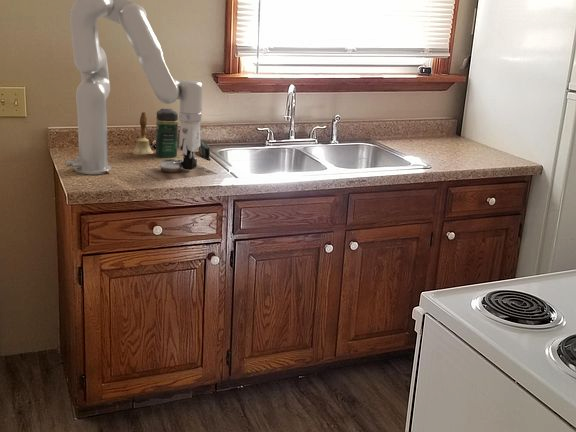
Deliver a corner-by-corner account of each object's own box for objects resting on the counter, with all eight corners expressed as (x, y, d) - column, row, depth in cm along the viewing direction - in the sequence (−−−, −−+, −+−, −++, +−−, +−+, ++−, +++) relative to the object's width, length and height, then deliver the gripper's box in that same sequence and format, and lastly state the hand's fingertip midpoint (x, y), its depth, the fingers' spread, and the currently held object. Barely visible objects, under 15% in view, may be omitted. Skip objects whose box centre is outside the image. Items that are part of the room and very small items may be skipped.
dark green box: (197, 140, 279) (204, 147, 265) (205, 140, 279) (212, 147, 266) (197, 152, 280) (204, 160, 266) (204, 152, 281) (212, 160, 267)
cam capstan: (168, 173, 239) (168, 164, 238) (156, 168, 244) (156, 160, 243) (202, 167, 249) (202, 159, 248) (190, 163, 254) (190, 155, 253)
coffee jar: (178, 160, 263) (179, 112, 258) (157, 160, 261) (157, 111, 255) (175, 154, 272) (176, 107, 266) (155, 154, 270) (155, 106, 264)
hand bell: (140, 149, 276) (140, 109, 271) (157, 153, 273) (158, 112, 268) (127, 153, 269) (127, 112, 264) (145, 156, 266) (145, 115, 261)
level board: (158, 184, 232) (158, 180, 231) (138, 173, 243) (138, 169, 242) (217, 177, 245) (218, 173, 245) (196, 167, 256) (196, 163, 256)
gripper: (193, 121, 233) (191, 175, 238) (207, 115, 247) (204, 165, 252) (172, 119, 234) (170, 172, 239) (186, 112, 248) (184, 162, 253)
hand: (188, 168), depth 246 cm, fingers closed
